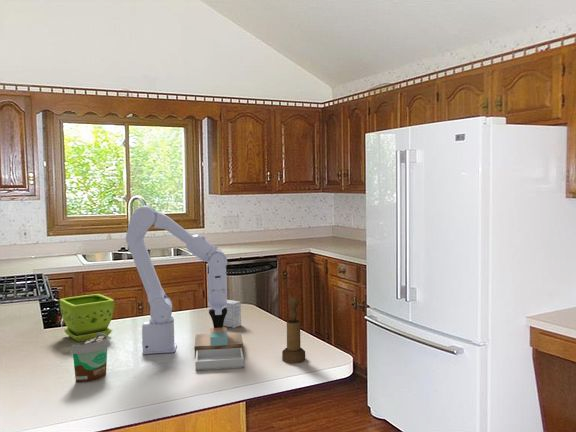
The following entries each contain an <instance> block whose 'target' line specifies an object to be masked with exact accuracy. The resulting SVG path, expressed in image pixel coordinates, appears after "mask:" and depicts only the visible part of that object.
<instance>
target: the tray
mask: <svg viewBox="0 0 576 432" xmlns="http://www.w3.org/2000/svg"><path fill="white" fill-rule="evenodd" d="M194 359H195V360H194V361H195V364H194V365H195V366H194V368H195V371H197V372H198V371H212V370H213V371H214V370H227V369H229V370H230V369H242V368H243V369H244V368H245V365H244V364H245V359H244V351H243V352H242V348H227V349H210V350H196V358H194Z"/></svg>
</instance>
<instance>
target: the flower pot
mask: <svg viewBox="0 0 576 432" xmlns="http://www.w3.org/2000/svg"><path fill="white" fill-rule="evenodd" d="M59 308H60V313H61V316H62V319H63V323H65V324H64V325H65V326H66V328H64V329H63V332H65V334H66V335H68V337H70V338H72V339H73V340H74V341H76V342H78V343H82V342H84V341H86V340H89V339H92V338H94V337H96V336H97V333H104V334H106V335H107V336H108V337H109V335H111V333H112V331H113V329H111V328H109V326H110V323H111V321H112V318H113V315H114V310H115V300H114V299H113V298H111V297H108V296H105V295H103V294H100V293H95V294H94V293H93V294H86V295H79V296H77V295H76V296H72V297H71V296H70V297H65V298H60V299H59Z"/></svg>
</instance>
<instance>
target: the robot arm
mask: <svg viewBox="0 0 576 432" xmlns="http://www.w3.org/2000/svg"><path fill="white" fill-rule="evenodd" d="M153 225H154V226H153ZM152 226H153V228H154V229H161V230H162V229H164V230H165V231H167V232H169V234H171V235H173V236H175V237H176V238H177V239H179V240H180V241H181V242H183V243H185V248H186V250H187V251H188V252H190V253H191V254H192V255H194V256H195V257H197V259H200V260H201V261H202V262H206V263H207V265H208V273H207V284H208V285H207V288H208V289H207V294H208V297H207V298H208V303H207V307H208V308H210V309H208V314H209V316H210V318H211V321H212V325H213V328H222V327H224V326H223V323H224V319H225V316H226V314H227V308H225V307H226V306H228V305H231V302H227V300H228V282H227V281H228V276H227V275H228V274H227V265H228V259H227V256H226V254H225V252H223V251H222V249H219V247H218V246H217V245H213V244H212V243H210V242H209V241H208V240H206V236H205V235H203V234H202V235H200V234H191V233H190V232H188V231H187V230H186V229H185V228H183V227H182V226H181V225H180V224H178V223H177V222H176V221H174V220H173V219H172V218H171V217H170V216H168V215H166V214H164V213H163V212H161V211H159V210H156V209H155V208H154V207H152V206H151V205H142V206H141V207H138V208H136V209H135V210H134V212H133V214H132V215H130V218H129V223H128V227H127V231H126V235H125V240H126V241H125V242H126V244H127V246H128V249H129V251H130V254H131V256H132V259H133V262H134V264H135V265H134V266H135V267H136V270H137V272H138V274H139V278H140V280H141V283H142V285H143V287H144V291H145V293H146V296H147V301H148V305H149V309H150V310H149V317H150V318H149V320H147V321H143V322H142V326H141V327H142V328H141V336H142V337H141V340H142V341H141V344H142V345H141V347H142V354H143V355H149V354H151V355H153V354H165V353H166V354H167V353H168V354H169V353H175V352H176V348H177V346H178V345H177V344H178V343H177V342H175V318H174V317H173V316H172V311H173V301H172V299H170V297H168V296H167V294H166V292H165V289H163V287H162V284H161V282H160V279H159V277H158V273H157V271H156V269H155V266H154V264H153V260H152V259H151V255H150V253H149V250H148V249H147V246H146V243H145V241H144V240H145V236H146V234H147V233H148V230H149V229H150V228H151V227H152Z"/></svg>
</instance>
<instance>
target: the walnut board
mask: <svg viewBox="0 0 576 432" xmlns="http://www.w3.org/2000/svg"><path fill="white" fill-rule="evenodd" d="M227 334H228V345H220V346H211V345H210V333H202V334H201V333H200V334H195V337H194V338H195V339H194V359H196V350H210V349H227V348H242V352H243V353H244V342H243V337H242V332H239V331H238V332H227Z"/></svg>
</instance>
